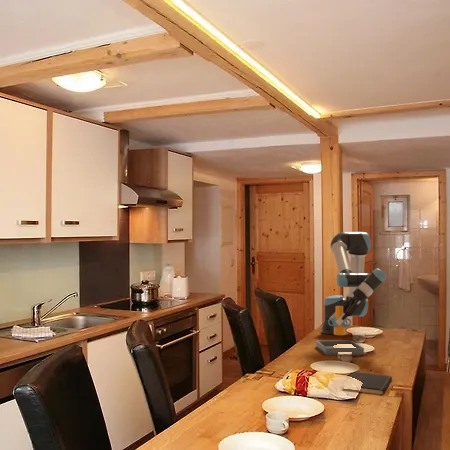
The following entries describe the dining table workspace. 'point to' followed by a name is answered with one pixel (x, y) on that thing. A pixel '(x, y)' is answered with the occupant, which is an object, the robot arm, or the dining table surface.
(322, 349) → the tray
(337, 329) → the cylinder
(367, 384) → the hardcover book
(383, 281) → the robot arm
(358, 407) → the dining table surface
